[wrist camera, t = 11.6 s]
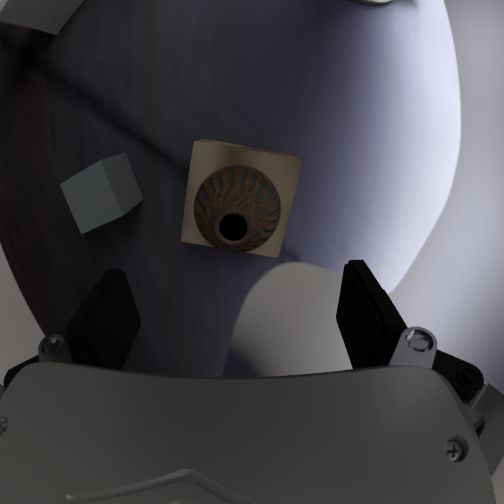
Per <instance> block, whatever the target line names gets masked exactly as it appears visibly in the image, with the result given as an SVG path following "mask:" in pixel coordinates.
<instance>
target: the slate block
mask: <svg viewBox="0 0 504 504" xmlns="http://www.w3.org/2000/svg"><path fill="white" fill-rule="evenodd" d="M60 185H61V188H62V190H63V193H64V195H65V198H66V200H67V203H68V205H69V207H70V210H71V212H72V214H73V217H74V219H75V221H76V223H77V225H78V228H79V230H80V232H81V234H83V233H85V232H87V231H90V230H92V229H94V228H96V227H98V226H101V225H103V224H105V223H107V222H110V221H112V220H114V219H117V218H119V217H121V216H124V215H125V214H126V213H127V212H128V211H130V210H131V209H132V208H133V207H134V206H136V205H137V204H138V203H139V202H141V201H142V200H143V196H142V194H141V191H140V189H139V186H138V184H137V181H136V179H135V176H134V174H133V171H132V168H131V166H130V163H129V161H128V158H127V155H126V152H125V153H122V154H119V155H115V156H112V157H109V158H106V159H103V160H100V161H98V162H97V163H95V164H93V165H91V166H89V167H88V168H86V169H84V170H83V171H81V172H79V173H78V174H76V175H74V176H73V177H71V178H69V179H68V180H66V181H65V182H63V183H62V184H60Z"/></svg>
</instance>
